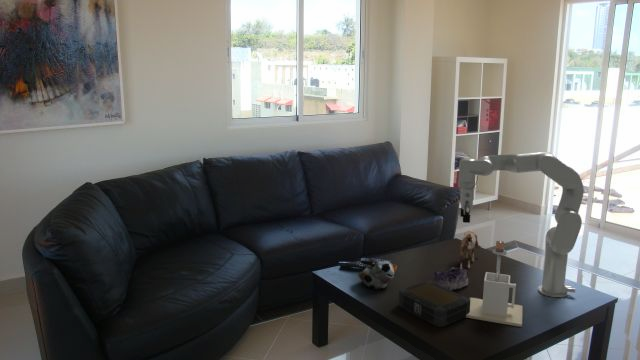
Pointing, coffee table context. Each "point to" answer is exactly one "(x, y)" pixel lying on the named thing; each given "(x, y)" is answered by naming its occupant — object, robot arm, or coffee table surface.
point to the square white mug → (496, 302)
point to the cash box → (434, 303)
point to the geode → (451, 278)
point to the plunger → (499, 256)
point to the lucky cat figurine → (378, 274)
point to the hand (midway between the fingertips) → (465, 219)
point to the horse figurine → (468, 246)
